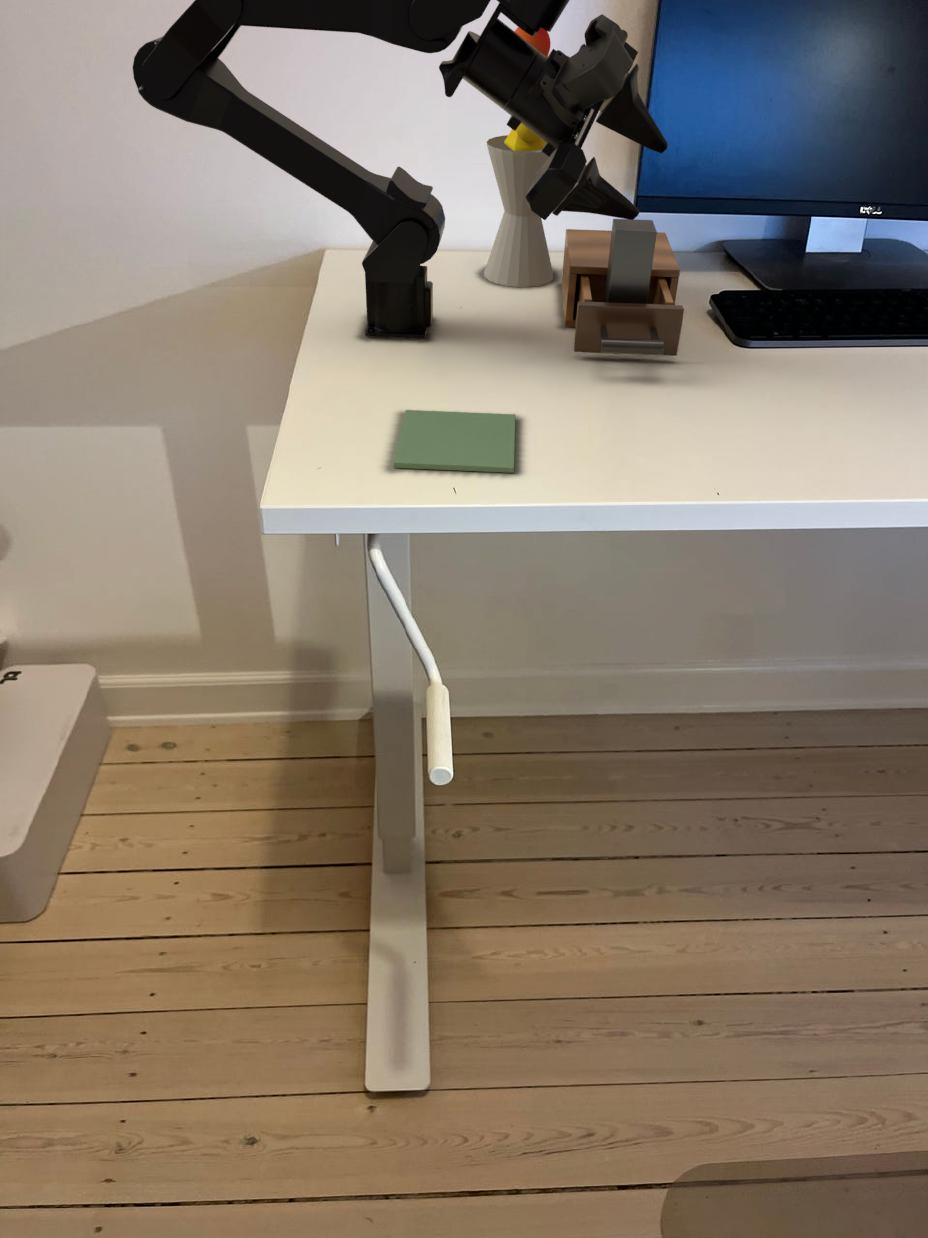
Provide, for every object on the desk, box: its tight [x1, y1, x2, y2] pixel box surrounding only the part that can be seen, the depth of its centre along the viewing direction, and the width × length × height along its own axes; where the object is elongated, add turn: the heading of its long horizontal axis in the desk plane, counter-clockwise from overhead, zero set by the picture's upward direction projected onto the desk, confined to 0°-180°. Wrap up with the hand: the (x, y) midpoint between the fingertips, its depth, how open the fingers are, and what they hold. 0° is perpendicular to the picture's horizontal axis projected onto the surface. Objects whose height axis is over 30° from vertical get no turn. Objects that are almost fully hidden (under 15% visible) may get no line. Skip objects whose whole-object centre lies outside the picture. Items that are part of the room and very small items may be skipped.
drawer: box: [573, 274, 685, 357], centre depth 99 cm, size 17×10×5 cm, turn 177°
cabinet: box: [561, 228, 681, 328], centre depth 109 cm, size 14×12×7 cm
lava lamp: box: [483, 26, 555, 288], centre depth 108 cm, size 9×9×35 cm
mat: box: [393, 409, 516, 474], centre depth 83 cm, size 10×10×1 cm
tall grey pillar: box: [604, 218, 657, 304], centre depth 98 cm, size 4×4×10 cm
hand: (651, 181), depth 93 cm, fingers open, 9 cm apart
